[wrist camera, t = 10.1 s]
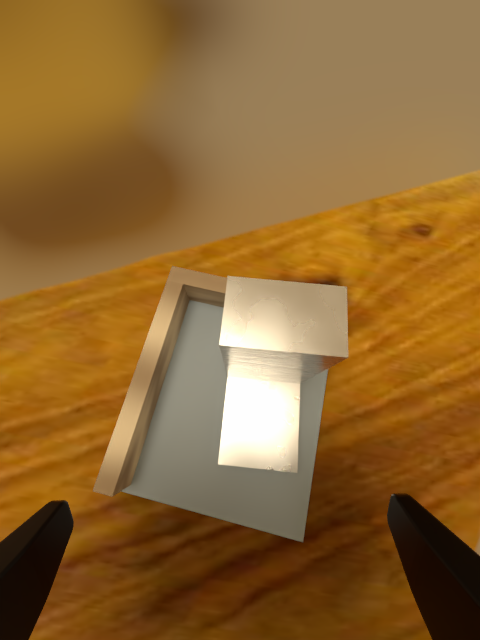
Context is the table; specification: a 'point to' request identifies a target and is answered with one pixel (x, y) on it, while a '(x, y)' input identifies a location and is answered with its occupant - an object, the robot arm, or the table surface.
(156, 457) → the slate board
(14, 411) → the table surface
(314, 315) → the bracket
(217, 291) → the board walls
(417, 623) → the table surface
